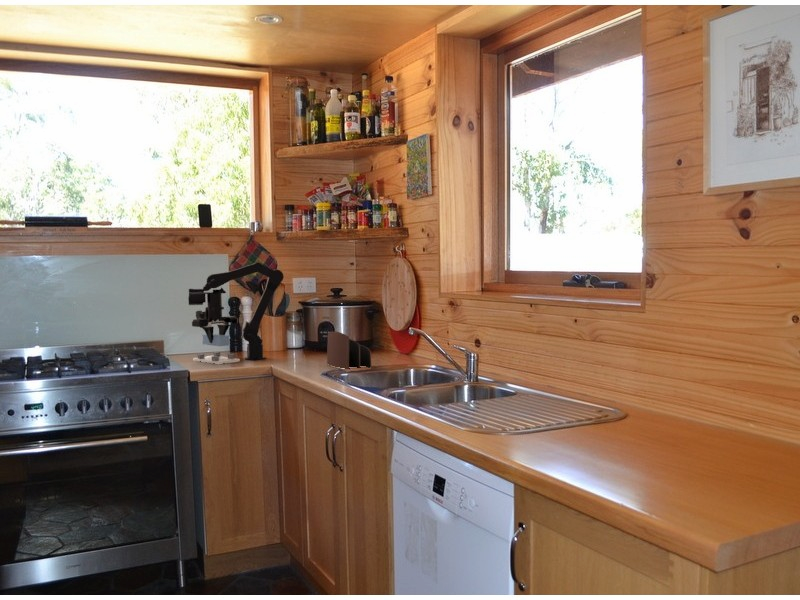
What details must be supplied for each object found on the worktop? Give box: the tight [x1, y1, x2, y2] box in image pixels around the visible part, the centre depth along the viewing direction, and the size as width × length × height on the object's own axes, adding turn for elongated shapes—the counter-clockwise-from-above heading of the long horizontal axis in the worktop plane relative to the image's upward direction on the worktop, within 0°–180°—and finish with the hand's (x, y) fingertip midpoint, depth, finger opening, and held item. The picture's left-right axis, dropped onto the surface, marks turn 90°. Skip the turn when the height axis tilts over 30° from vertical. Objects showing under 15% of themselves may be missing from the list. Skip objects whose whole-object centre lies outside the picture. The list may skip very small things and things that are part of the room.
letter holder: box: [326, 331, 372, 369], centre depth 274 cm, size 10×20×14 cm, turn 28°
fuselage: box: [201, 333, 230, 347], centre depth 296 cm, size 14×4×4 cm, turn 50°
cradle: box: [192, 351, 241, 365], centre depth 296 cm, size 18×10×3 cm, turn 49°
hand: (215, 342), depth 296 cm, fingers closed on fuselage, 4 cm apart
